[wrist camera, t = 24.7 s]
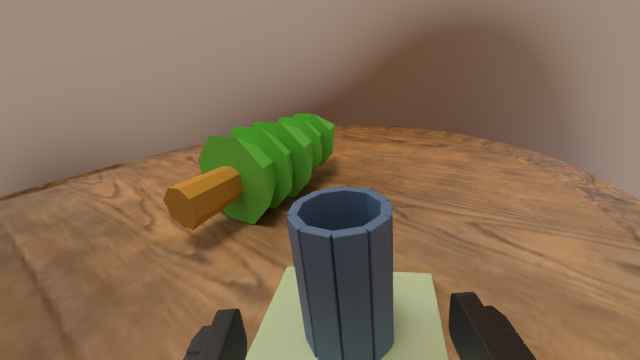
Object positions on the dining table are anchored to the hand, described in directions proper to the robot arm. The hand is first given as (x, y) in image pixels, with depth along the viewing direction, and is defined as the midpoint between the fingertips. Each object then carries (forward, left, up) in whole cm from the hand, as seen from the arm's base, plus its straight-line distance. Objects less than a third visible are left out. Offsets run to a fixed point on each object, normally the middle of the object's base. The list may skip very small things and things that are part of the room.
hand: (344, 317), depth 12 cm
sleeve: (-1, +6, -7) cm, 10 cm away
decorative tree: (-12, +28, -8) cm, 32 cm away
